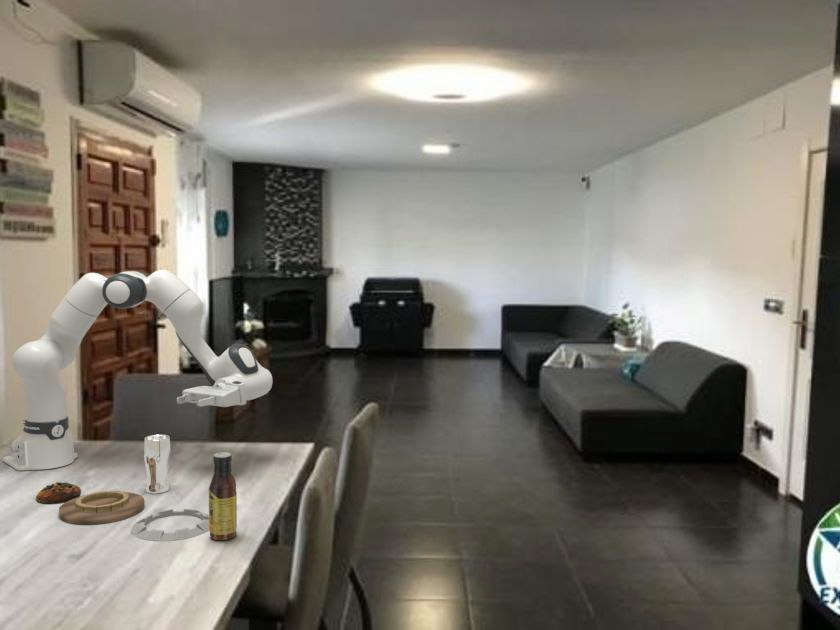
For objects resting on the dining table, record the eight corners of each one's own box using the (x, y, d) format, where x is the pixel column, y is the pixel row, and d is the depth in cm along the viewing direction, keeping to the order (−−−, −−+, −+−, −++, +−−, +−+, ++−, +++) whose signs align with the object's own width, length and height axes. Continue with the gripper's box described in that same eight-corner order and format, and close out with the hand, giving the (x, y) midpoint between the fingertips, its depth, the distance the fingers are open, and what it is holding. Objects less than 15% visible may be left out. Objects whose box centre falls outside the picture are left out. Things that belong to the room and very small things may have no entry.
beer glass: (162, 495, 195) (161, 441, 193) (139, 493, 196) (138, 439, 195) (175, 487, 201) (175, 435, 200) (153, 485, 203) (152, 433, 202)
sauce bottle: (212, 531, 170) (211, 449, 168) (238, 531, 170) (238, 449, 169) (206, 542, 163) (205, 457, 162) (234, 542, 164) (233, 457, 162)
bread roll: (63, 505, 185) (61, 486, 185) (26, 507, 187) (24, 488, 187) (91, 494, 196) (89, 475, 196) (56, 495, 198) (54, 478, 198)
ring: (219, 511, 185) (219, 504, 184) (210, 541, 166) (210, 532, 165) (140, 514, 181) (140, 507, 181) (122, 545, 162) (122, 536, 162)
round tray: (42, 513, 180) (42, 501, 179) (114, 492, 196) (114, 481, 196) (89, 531, 169) (88, 518, 168) (160, 507, 185) (160, 496, 185)
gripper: (204, 379, 222) (165, 389, 211) (247, 383, 210) (208, 394, 199) (207, 399, 223) (168, 409, 212) (249, 404, 210) (210, 416, 200)
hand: (188, 402), depth 205 cm, fingers open, 8 cm apart
